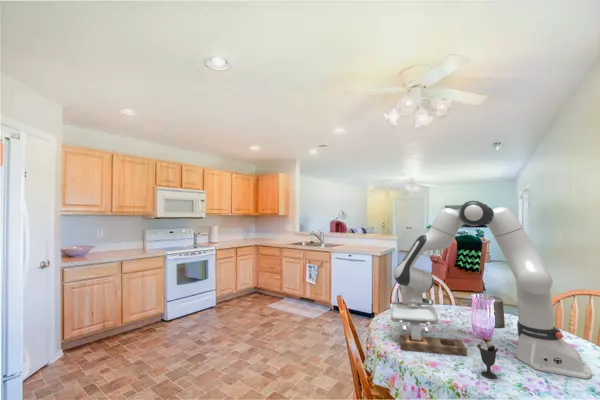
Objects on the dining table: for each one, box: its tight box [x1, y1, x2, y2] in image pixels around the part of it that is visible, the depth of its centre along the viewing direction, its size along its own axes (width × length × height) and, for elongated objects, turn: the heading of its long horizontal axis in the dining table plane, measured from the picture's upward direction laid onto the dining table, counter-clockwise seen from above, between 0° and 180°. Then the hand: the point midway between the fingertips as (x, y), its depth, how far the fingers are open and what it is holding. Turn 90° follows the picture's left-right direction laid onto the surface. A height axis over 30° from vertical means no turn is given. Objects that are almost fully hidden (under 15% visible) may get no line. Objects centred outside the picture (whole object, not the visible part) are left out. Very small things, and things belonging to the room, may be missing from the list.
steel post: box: [409, 322, 422, 342], centre depth 130 cm, size 4×4×10 cm
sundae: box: [476, 331, 499, 380], centre depth 107 cm, size 7×7×15 cm
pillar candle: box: [489, 295, 506, 329], centre depth 153 cm, size 10×10×15 cm
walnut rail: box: [399, 333, 468, 357], centre depth 128 cm, size 26×9×4 cm, turn 76°
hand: (415, 331), depth 130 cm, fingers open, 8 cm apart
